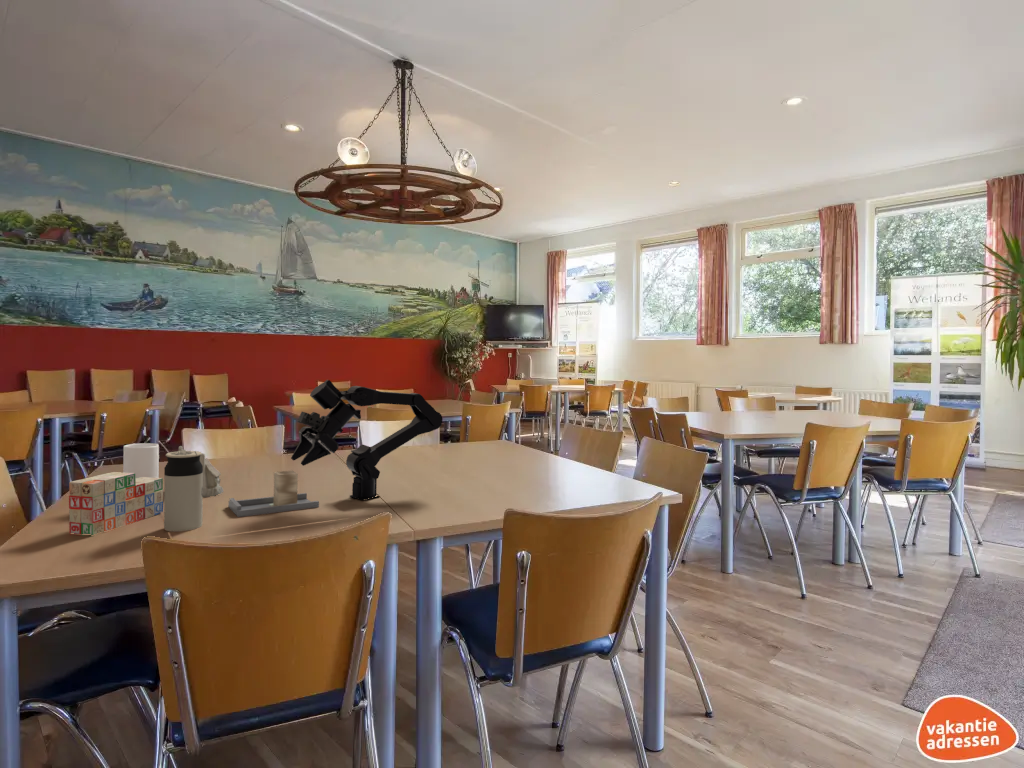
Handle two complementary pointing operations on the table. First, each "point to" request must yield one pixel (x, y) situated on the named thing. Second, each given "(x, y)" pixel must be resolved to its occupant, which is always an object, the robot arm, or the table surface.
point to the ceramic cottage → (209, 477)
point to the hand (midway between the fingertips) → (296, 462)
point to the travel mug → (183, 491)
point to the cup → (141, 460)
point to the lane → (268, 505)
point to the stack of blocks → (112, 501)
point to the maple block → (285, 487)
